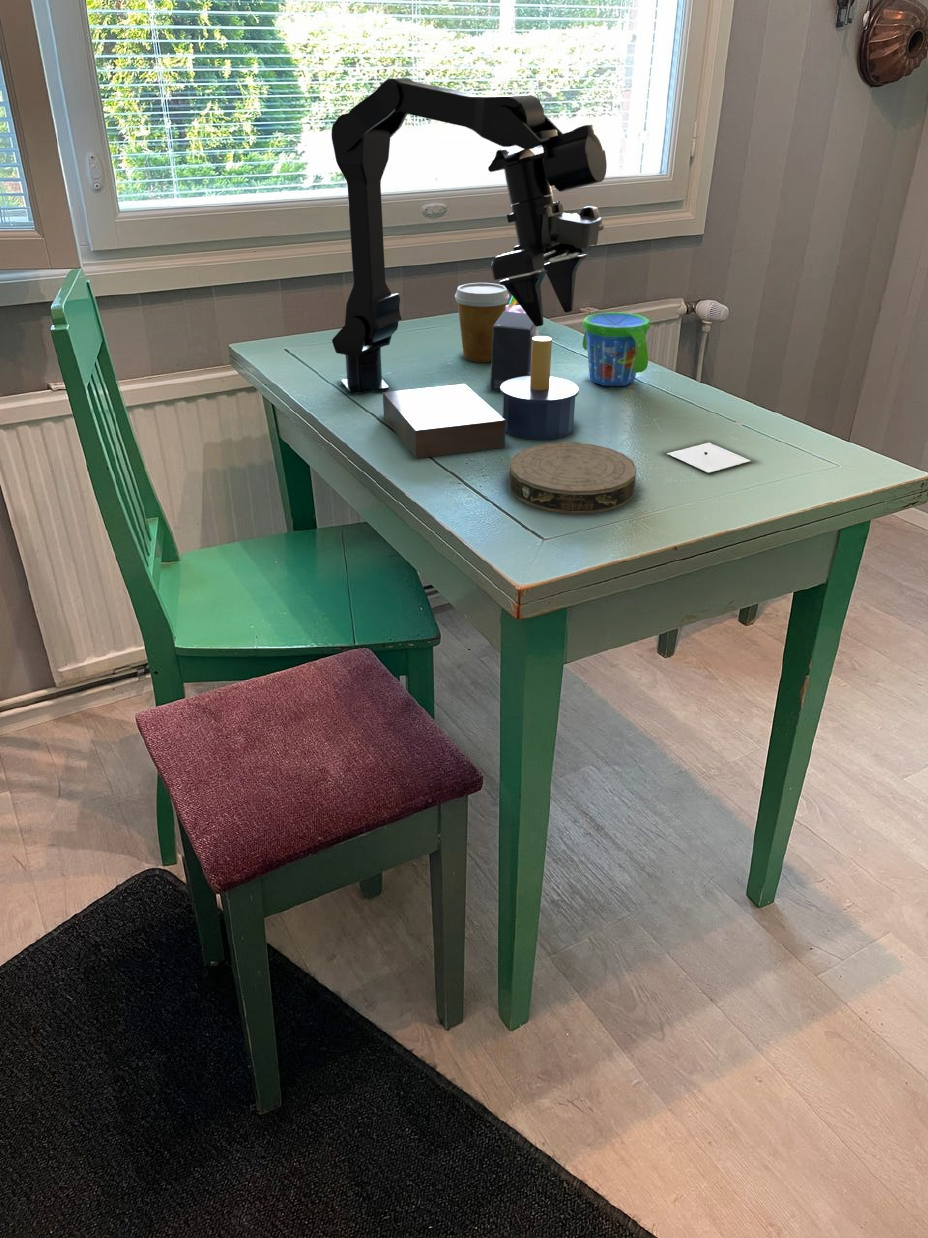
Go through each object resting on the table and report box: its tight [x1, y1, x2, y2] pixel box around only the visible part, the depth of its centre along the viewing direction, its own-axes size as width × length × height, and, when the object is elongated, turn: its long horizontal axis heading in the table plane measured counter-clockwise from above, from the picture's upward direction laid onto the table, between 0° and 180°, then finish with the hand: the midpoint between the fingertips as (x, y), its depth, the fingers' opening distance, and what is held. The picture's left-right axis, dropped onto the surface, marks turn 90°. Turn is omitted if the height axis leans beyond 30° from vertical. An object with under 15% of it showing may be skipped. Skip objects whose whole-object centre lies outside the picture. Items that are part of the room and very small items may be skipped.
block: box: [382, 383, 506, 459], centre depth 135 cm, size 17×13×4 cm
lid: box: [499, 335, 580, 404], centre depth 133 cm, size 11×11×8 cm
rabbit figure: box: [505, 295, 525, 313], centre depth 187 cm, size 6×6×15 cm
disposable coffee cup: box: [454, 282, 510, 363], centre depth 166 cm, size 10×10×12 cm
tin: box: [502, 395, 576, 441], centre depth 137 cm, size 10×10×6 cm
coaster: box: [666, 442, 752, 473], centre depth 128 cm, size 8×8×1 cm
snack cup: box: [582, 311, 651, 387], centre depth 154 cm, size 16×10×10 cm
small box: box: [489, 311, 540, 392], centre depth 153 cm, size 11×6×10 cm, turn 168°
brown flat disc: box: [508, 441, 637, 515], centre depth 119 cm, size 16×16×3 cm
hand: (554, 318), depth 131 cm, fingers open, 9 cm apart
